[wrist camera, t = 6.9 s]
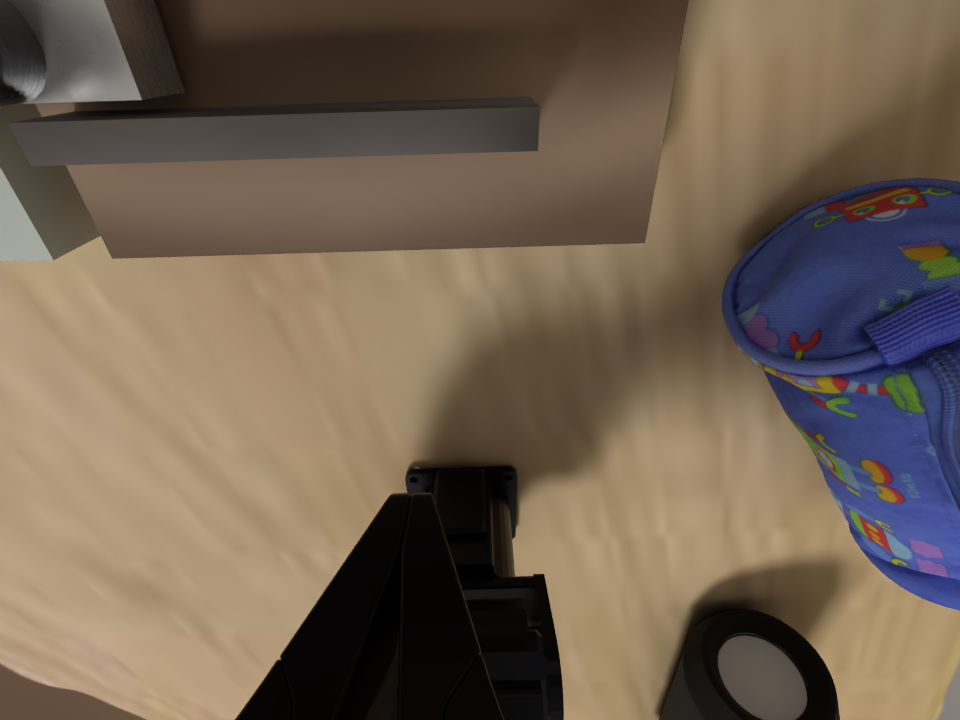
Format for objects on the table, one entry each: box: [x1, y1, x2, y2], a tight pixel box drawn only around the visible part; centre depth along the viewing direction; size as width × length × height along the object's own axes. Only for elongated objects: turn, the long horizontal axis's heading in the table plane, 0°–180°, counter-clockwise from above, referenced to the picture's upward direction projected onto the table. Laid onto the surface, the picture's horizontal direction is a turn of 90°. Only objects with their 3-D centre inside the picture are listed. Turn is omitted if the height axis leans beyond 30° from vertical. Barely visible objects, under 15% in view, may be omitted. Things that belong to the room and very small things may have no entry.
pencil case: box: [722, 178, 960, 610], centre depth 20 cm, size 22×9×10 cm, turn 40°
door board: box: [8, 0, 688, 258], centre depth 13 cm, size 12×18×6 cm, turn 92°
